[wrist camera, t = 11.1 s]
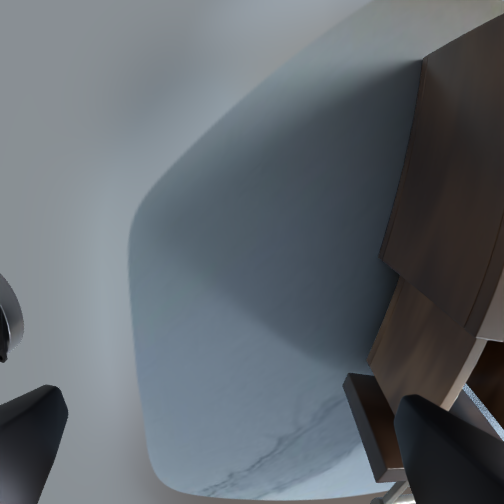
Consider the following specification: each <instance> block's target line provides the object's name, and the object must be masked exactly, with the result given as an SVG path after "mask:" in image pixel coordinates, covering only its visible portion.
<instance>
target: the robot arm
mask: <svg viewBox="0 0 504 504" xmlns="http://www.w3.org/2000/svg"><path fill="white" fill-rule="evenodd" d="M6 360H7V354H6V348H5V341H4V335H3V327H2V319H1V310H0V362H2V363H4V362H5V361H6ZM67 418H68V409H67V406H66V403H65V401H64V398H63V395H62V393H61V390H60V389H59V388H58V387H56V386H52V385H43V386H41V387H39V388H37V389H35V390H33V391H31V392H28V393H26V394H24V395H22V396H20V397H18V398H15V399H13V400H11V401H9V402H7V403H4V404H2V405H0V504H37V503H38V501H39V498H40V496H41V493H42V490H43V488H44V485H45V483H46V480H47V478H48V475H49V473H50V470H51V468H52V465H53V463H54V460H55V457H56V454H57V451H58V448H59V444H60V441H61V438H62V434H63V431H64V428H65V425H66V422H67ZM394 428H395V432H396V436H397V440H398V444H399V449H400V453H401V457H402V462H403V466H404V470H405V473H406V476H407V479H408V482H409V485H410V488H411V491H412V494H413V497H414V500H415V502H416V504H504V441H502V440H500V439H498V438H496V437H494V436H492V435H490V434H489V433H487V432H485V431H483V430H481V429H479V428H477V427H476V426H474V425H472V424H470V423H468V422H467V421H465V420H463V419H461V418H459V417H457V416H456V415H454V414H452V413H450V412H448V411H447V410H445V409H443V408H441V407H440V406H438V405H436V404H434V403H433V402H431V401H429V400H427V399H426V398H424V397H422V396H420V395H418V394H411V395H405V396H403V397H402V398H401V400H400V403H399V406H398V409H397V412H396V415H395V418H394Z"/></svg>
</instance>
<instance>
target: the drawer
mask: <svg viewBox="0 0 504 504" xmlns="http://www.w3.org/2000/svg"><path fill="white" fill-rule="evenodd" d="M366 361H367V363H368V365H369V366H370V368H371V370H372V372H373V374H374V376H371V375H363V374H355V373H348V375H347V377H346V379H345V381H344V383H343V389H344V391H345V394H346V397H347V400H348V403H349V405H350V408H351V411H352V414H353V417H354V419H355V422H356V425H357V428H358V431H359V434H360V437H361V439H362V442H363V445H364V448H365V451H366V454H367V457H368V460H369V463H370V466H371V469H372V472H373V475H374V478H375V481H376V483H384V482H396V483H395V484H394V485H393V487H392V488H391V489H390V490H389V491H388V492H387V493H386V494H385V496H384V497H378V498H374V499H373V500H372V501H371V503H370V504H416V502H415V500H414V497H413V494H408V495H401V494H402V493H403V492H404V490H405V489H406V488H407V487H408V486H409V482H408V479H407V476H406V473H405V470H404V466H403V462H402V457H401V453H400V449H399V444H398V440H397V436H396V432H395V428H394V418H395V415H396V412H397V409H398V406H399V403H400V400H401V398H402V397H403V396H405V395H411V394H418V395H420V396H422V397H424V398H426V399H427V400H429V401H431V402H433V403H434V404H436V405H438V406H440V407H441V408H443V409H445V410H447V411H448V412H450V413H452V414H454V415H456V416H457V417H459V418H461V419H463V420H465V421H467V422H468V423H470V424H472V425H474V426H476V427H477V428H479V429H481V430H483V431H485V432H487V433H489V434H490V435H492V436H494V437H496V438H498V439H500V440H502V439H501V438H500V436H499V435H498V434H497V432H496V431H495V430H494V428H493V427H492V426H491V424H490V423H489V422H488V420H487V419H486V418H485V417H484V415H483V414H482V413H481V411H480V410H479V409H478V408H477V406H476V405H475V404H474V402H473V401H472V400H471V399H470V397H469V396H468V395H467V394H466V392H465V391H464V390H463V389H462V388H463V386H464V385H465V383H466V384H467V385H468V386H469V387H470V388H471V390H472V391H473V392H474V393H475V395H476V396H477V397H478V398H479V399H480V401H481V402H482V403H483V404H484V405H485V407H486V408H487V409H488V410H489V412H490V413H491V414H492V415H493V417H494V418H495V419H496V421H497V422H498V423H499V424H500V426H501V427H502V428H503V429H504V342H499V341H492V340H485V339H478V338H474V337H473V336H472V335H471V334H470V333H468V332H467V331H466V330H465V329H464V328H462V327H461V326H460V325H459V324H458V323H457V322H456V321H454V320H453V319H452V318H451V317H450V316H449V315H448V314H446V313H445V312H444V311H443V310H442V309H441V308H439V307H438V306H437V305H436V304H435V303H433V302H432V301H431V300H430V299H429V298H427V297H426V296H425V295H424V294H423V293H421V292H420V291H419V290H418V289H417V288H415V287H414V286H413V285H412V284H411V283H409V282H408V281H407V280H406V279H404V278H403V277H402V276H401V275H400V277H399V280H398V282H397V285H396V288H395V291H394V293H393V296H392V299H391V301H390V304H389V307H388V309H387V312H386V314H385V317H384V319H383V322H382V324H381V327H380V329H379V331H378V334H377V336H376V339H375V341H374V343H373V345H372V348H371V350H370V352H369V355H368V357H367V359H366ZM502 441H503V440H502Z"/></svg>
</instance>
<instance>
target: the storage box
mask: <svg viewBox="0 0 504 504" xmlns="http://www.w3.org/2000/svg"><path fill="white" fill-rule="evenodd" d="M378 258H379V259H381V260H382V261H383V262H384V263H386V264H387V265H388V266H389V267H391V268H392V269H393V270H394V271H396V272H397V273H398V274H399V275H401V276H402V277H403V278H404V279H406V280H407V281H408V282H409V283H411V284H412V285H413V286H414V287H415V288H417V289H418V290H419V291H420V292H421V293H423V294H424V295H425V296H426V297H427V298H429V299H430V300H431V301H432V302H433V303H435V304H436V305H437V306H438V307H439V308H441V309H442V310H443V311H444V312H445V313H446V314H448V315H449V316H450V317H451V318H452V319H453V320H454V321H456V322H457V323H458V324H459V325H460V326H461V327H462V328H464V329H465V330H466V331H467V332H468V333H470V334H471V335H472V336H473V337H474V338H478V339H485V340H492V341H499V342H504V14H502V15H500V16H498V17H496V18H494V19H492V20H490V21H488V22H486V23H484V24H482V25H481V26H479V27H477V28H475V29H473V30H471V31H469V32H468V33H466V34H464V35H462V36H460V37H459V38H457V39H455V40H453V41H451V42H450V43H448V44H446V45H444V46H443V47H441V48H439V49H437V50H436V51H434V52H432V53H431V54H429V55H428V56H426V57H424V58H423V62H422V70H421V77H420V84H419V90H418V96H417V102H416V108H415V113H414V119H413V124H412V129H411V134H410V139H409V144H408V148H407V153H406V157H405V162H404V166H403V170H402V174H401V178H400V182H399V186H398V190H397V194H396V198H395V201H394V205H393V209H392V212H391V216H390V219H389V223H388V226H387V230H386V233H385V236H384V240H383V243H382V246H381V249H380V252H379V256H378Z"/></svg>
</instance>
